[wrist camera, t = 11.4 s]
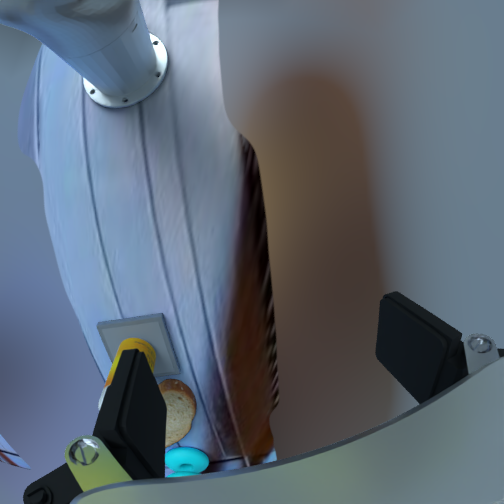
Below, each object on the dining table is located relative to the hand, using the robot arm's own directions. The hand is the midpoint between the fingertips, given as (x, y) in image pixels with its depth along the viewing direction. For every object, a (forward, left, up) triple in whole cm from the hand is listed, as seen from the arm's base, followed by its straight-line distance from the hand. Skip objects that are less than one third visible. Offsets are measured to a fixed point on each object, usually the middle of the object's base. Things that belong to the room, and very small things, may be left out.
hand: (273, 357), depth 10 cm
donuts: (+49, -17, -31) cm, 60 cm away
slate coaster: (+17, -16, -30) cm, 38 cm away
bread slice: (+34, -18, -31) cm, 49 cm away
